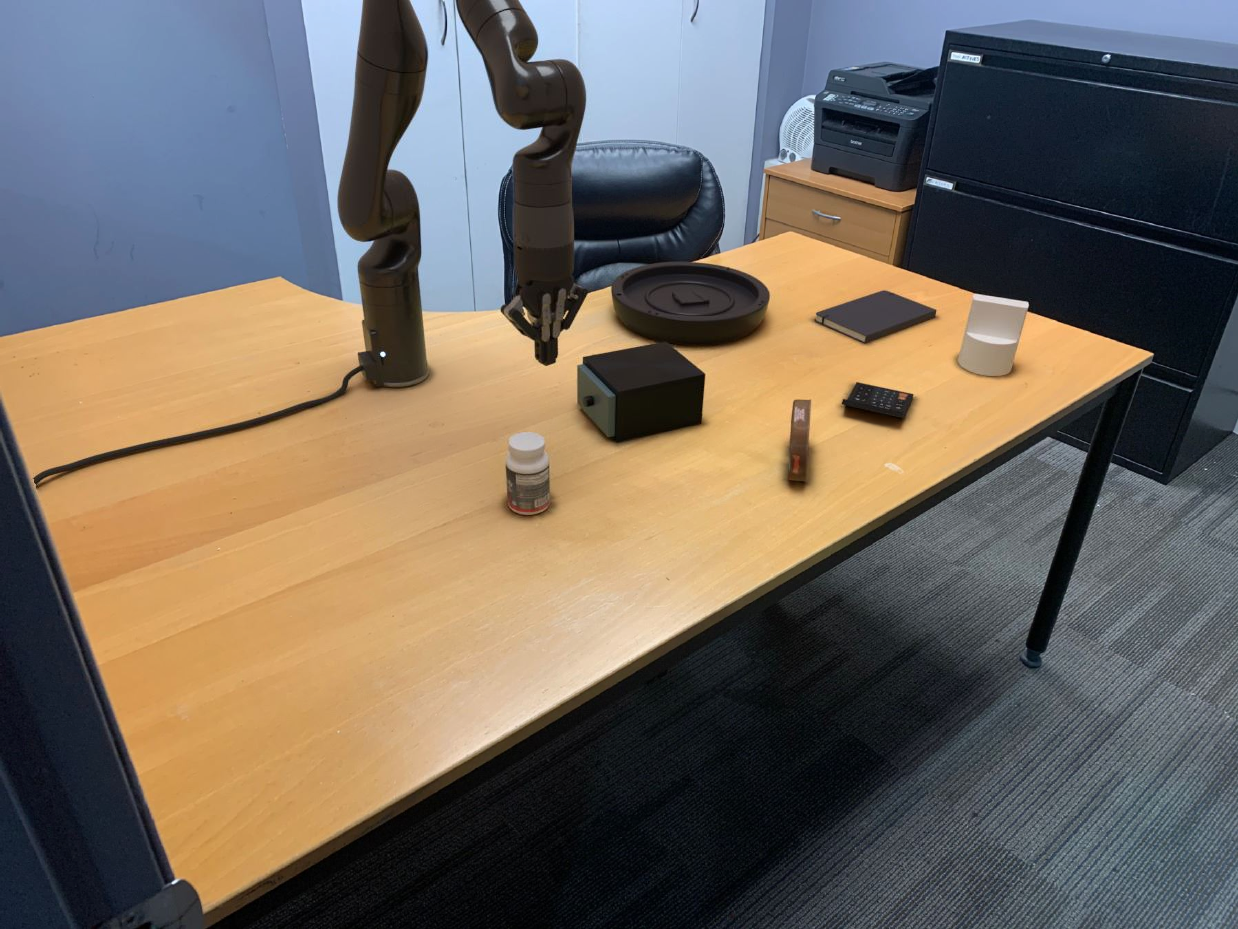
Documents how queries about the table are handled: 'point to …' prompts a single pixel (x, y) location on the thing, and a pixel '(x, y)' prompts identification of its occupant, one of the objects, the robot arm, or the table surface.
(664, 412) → the cabinet
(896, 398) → the calculator
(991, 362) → the cylinder with rectangular tab
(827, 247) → the table surface
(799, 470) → the tin
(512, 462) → the pill bottle
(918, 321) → the notebook
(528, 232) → the robot arm
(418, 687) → the table surface
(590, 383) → the drawer
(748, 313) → the round tray
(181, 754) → the table surface
